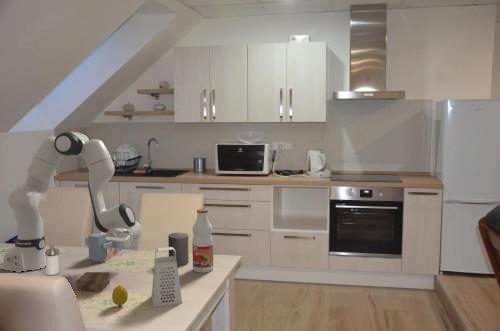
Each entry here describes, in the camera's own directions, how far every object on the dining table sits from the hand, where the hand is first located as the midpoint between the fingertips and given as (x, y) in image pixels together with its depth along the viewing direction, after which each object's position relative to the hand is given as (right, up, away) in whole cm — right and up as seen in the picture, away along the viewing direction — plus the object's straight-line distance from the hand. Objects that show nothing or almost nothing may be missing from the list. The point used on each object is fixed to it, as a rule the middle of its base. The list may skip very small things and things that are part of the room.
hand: (96, 246), depth 194 cm
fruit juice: (+42, -15, +21) cm, 49 cm away
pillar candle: (+30, -14, +32) cm, 45 cm away
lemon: (+16, -19, -20) cm, 32 cm away
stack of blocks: (-8, -13, +43) cm, 46 cm away
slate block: (0, -5, +1) cm, 6 cm away
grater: (+32, -18, -14) cm, 39 cm away
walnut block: (-1, -17, 0) cm, 17 cm away
